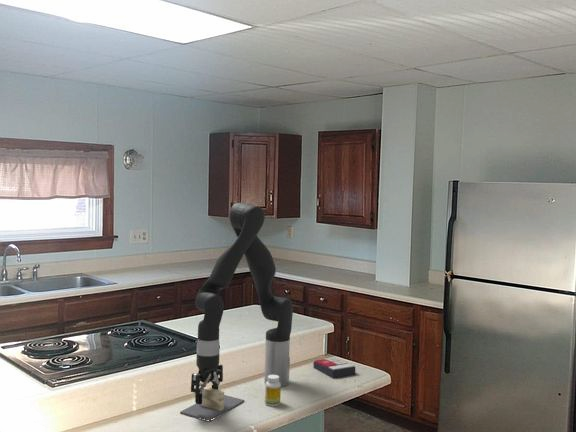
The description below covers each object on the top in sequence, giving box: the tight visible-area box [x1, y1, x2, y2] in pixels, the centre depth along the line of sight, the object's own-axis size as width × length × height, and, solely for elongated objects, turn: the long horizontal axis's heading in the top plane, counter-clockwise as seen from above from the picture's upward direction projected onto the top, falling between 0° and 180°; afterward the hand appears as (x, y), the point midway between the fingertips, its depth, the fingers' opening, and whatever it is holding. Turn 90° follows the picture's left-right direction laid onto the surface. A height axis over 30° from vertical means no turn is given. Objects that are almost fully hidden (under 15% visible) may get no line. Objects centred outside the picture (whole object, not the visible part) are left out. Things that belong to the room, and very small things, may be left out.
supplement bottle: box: [264, 375, 282, 407], centre depth 197 cm, size 5×5×10 cm
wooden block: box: [199, 386, 225, 411], centre depth 191 cm, size 9×2×6 cm, turn 61°
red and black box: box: [312, 357, 356, 380], centre depth 233 cm, size 11×4×15 cm
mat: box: [179, 394, 245, 422], centre depth 192 cm, size 20×12×1 cm, turn 151°
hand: (206, 399), depth 189 cm, fingers open, 8 cm apart
